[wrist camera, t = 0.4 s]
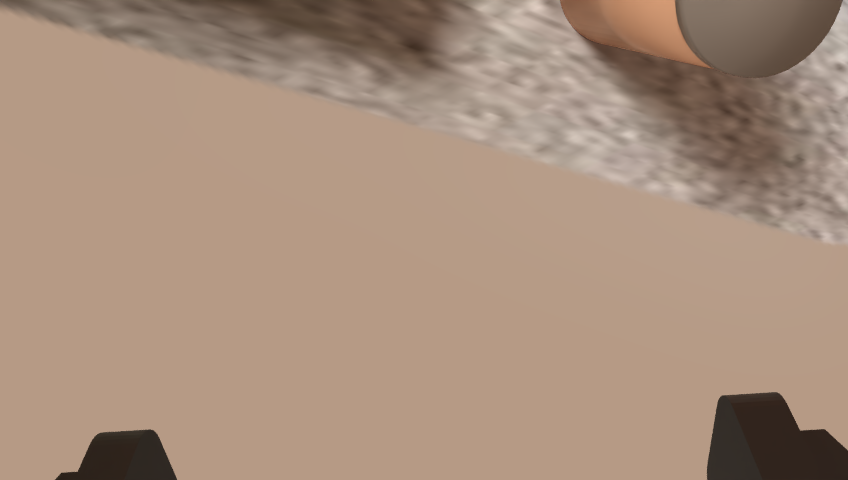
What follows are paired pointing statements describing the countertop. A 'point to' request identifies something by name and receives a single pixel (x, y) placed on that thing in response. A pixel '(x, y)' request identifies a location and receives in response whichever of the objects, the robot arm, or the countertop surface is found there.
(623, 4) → the spice jar
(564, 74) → the countertop surface
